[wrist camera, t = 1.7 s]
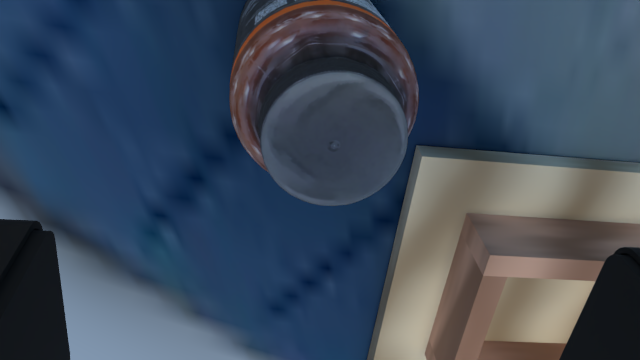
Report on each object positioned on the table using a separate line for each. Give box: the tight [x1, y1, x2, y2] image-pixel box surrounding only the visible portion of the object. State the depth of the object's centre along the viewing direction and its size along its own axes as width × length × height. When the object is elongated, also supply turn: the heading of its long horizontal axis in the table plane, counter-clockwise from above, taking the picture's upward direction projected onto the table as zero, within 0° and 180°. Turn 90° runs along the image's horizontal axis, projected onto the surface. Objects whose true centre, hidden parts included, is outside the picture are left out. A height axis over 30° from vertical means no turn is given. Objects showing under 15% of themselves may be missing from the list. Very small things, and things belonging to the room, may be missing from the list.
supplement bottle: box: [230, 0, 419, 206], centre depth 20 cm, size 6×6×11 cm
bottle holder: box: [367, 145, 640, 360], centre depth 31 cm, size 16×16×5 cm
